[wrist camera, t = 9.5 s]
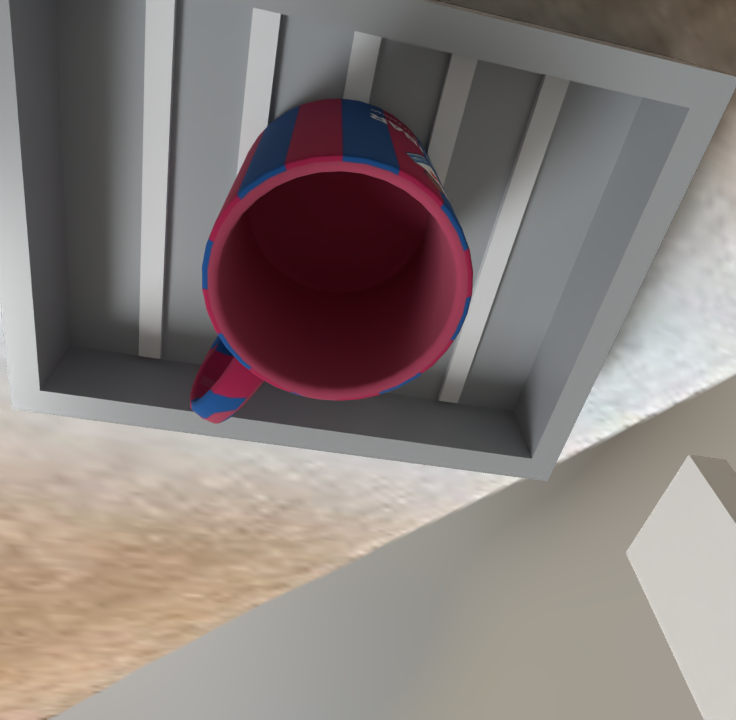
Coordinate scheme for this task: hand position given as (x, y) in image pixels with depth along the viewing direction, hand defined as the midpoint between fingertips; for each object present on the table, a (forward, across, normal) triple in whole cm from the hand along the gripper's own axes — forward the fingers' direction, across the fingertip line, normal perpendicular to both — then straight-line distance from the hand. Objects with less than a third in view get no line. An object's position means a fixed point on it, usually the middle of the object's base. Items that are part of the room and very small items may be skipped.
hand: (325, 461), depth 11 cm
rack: (+14, 0, -1) cm, 14 cm away
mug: (+13, -1, -1) cm, 13 cm away
